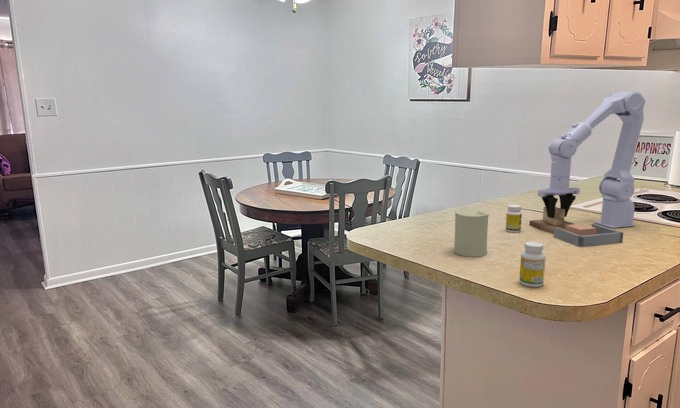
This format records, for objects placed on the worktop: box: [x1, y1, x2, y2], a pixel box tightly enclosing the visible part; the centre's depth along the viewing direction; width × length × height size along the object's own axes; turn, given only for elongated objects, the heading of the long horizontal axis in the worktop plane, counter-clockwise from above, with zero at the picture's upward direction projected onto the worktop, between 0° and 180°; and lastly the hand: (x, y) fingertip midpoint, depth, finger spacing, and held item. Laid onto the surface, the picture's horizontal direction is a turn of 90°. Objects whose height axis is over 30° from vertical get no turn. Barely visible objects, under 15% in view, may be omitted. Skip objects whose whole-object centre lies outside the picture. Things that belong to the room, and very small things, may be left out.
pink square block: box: [566, 223, 596, 236], centre depth 153 cm, size 6×6×3 cm
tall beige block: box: [542, 206, 566, 225], centre depth 164 cm, size 4×6×5 cm, turn 15°
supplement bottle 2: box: [519, 241, 546, 288], centre depth 115 cm, size 5×5×10 cm
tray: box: [553, 223, 624, 248], centre depth 150 cm, size 15×11×3 cm
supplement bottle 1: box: [505, 204, 523, 233], centre depth 161 cm, size 5×5×8 cm
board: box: [528, 219, 574, 235], centre depth 163 cm, size 11×14×2 cm
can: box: [453, 208, 490, 258], centre depth 139 cm, size 9×9×12 cm
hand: (556, 216), depth 163 cm, fingers open, 4 cm apart
